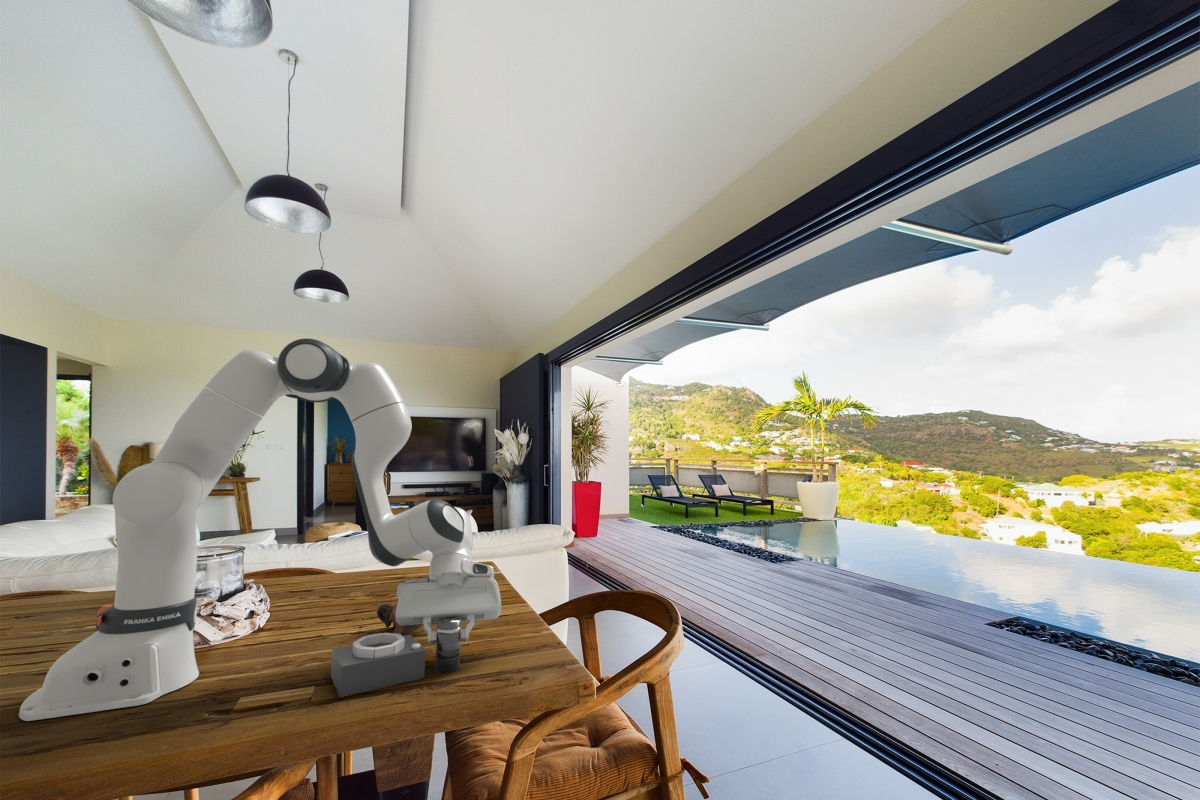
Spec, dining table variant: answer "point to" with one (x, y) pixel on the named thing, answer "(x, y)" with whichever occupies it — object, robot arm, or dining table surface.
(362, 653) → the camera body
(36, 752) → the dining table surface
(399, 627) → the pottery mug
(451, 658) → the lens
